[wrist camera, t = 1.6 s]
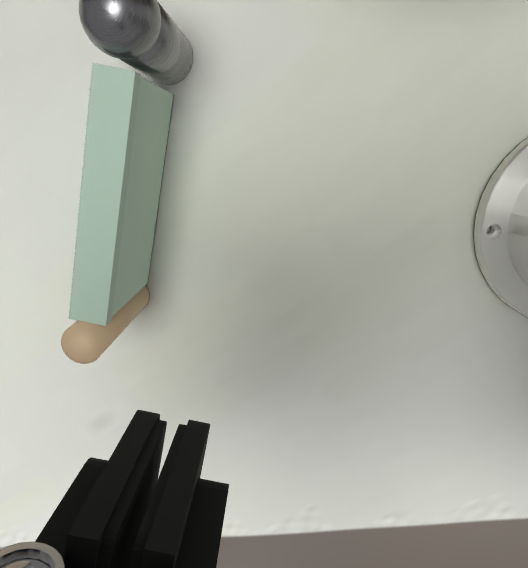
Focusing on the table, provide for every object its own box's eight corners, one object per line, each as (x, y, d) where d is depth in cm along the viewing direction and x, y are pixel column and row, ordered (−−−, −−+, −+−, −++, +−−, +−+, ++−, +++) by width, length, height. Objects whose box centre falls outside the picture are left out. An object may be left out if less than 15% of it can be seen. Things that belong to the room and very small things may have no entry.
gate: (143, 88, 27) (86, 60, 19) (177, 95, 27) (134, 70, 19) (117, 306, 30) (59, 359, 22) (147, 312, 30) (100, 367, 23)
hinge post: (191, 22, 26) (143, -50, 17) (197, 84, 27) (154, 46, 18) (135, 27, 26) (57, -42, 17) (143, 88, 27) (72, 53, 18)
